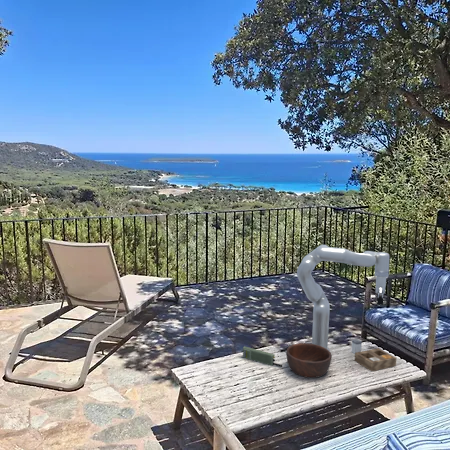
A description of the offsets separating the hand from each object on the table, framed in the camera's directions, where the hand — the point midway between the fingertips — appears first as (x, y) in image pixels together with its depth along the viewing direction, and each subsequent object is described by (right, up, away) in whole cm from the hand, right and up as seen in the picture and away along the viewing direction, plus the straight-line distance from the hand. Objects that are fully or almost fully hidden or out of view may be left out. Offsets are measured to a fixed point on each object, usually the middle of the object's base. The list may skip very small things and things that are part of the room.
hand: (380, 301), depth 240 cm
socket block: (-4, -36, -2) cm, 36 cm away
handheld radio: (-70, -35, -3) cm, 78 cm away
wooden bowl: (-45, -36, -10) cm, 59 cm away
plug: (-11, -34, +11) cm, 37 cm away
